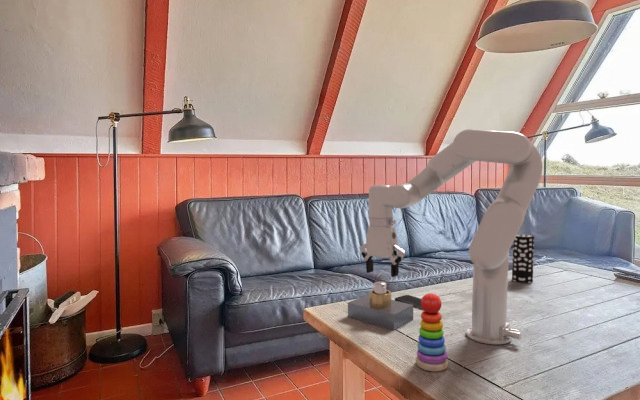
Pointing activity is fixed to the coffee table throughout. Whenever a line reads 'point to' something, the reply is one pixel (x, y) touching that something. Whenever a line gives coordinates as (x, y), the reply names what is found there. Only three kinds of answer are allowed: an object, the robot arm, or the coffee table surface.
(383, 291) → the grey peg board
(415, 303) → the phone
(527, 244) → the spotted tube
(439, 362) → the stacking toy
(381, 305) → the bronze ring
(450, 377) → the coffee table surface
